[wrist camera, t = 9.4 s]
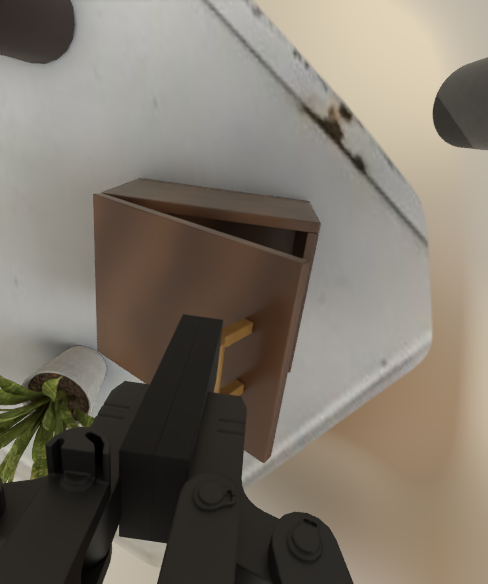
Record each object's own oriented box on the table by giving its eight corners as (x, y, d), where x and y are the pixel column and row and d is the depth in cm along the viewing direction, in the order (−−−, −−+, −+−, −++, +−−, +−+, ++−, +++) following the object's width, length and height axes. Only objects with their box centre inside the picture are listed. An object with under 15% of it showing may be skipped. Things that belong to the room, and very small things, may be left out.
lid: (310, 260, 19) (248, 285, 15) (271, 456, 24) (216, 513, 20) (102, 193, 27) (28, 197, 23) (105, 347, 32) (44, 372, 28)
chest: (309, 201, 35) (321, 222, 27) (286, 323, 40) (290, 373, 32) (139, 177, 35) (100, 192, 27) (137, 302, 40) (103, 346, 32)
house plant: (-12, 361, 44) (-157, 480, 29) (49, 279, 40) (-85, 370, 25) (91, 431, 47) (8, 571, 32) (159, 362, 43) (98, 488, 28)
